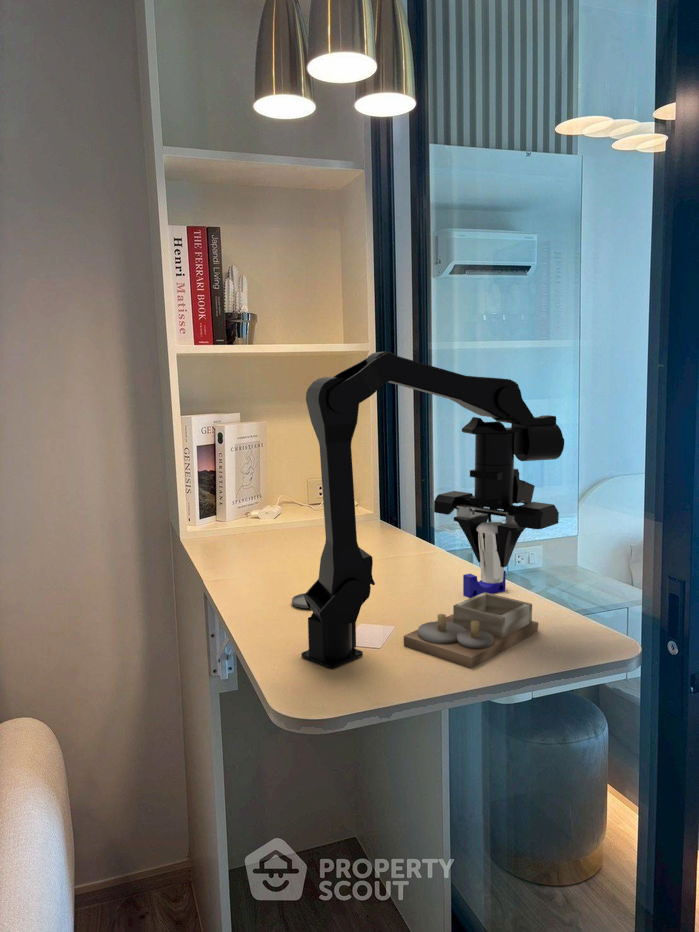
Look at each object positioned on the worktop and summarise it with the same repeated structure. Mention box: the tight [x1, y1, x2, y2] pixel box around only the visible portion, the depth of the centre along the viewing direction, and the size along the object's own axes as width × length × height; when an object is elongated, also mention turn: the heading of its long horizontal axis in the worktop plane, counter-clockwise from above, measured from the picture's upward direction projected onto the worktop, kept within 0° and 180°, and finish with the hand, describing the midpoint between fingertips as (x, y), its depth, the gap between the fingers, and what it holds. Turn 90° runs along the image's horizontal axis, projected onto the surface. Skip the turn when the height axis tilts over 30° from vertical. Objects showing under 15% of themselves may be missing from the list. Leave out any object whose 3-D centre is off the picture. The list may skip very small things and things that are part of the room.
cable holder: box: [462, 569, 507, 599], centre depth 129 cm, size 8×4×4 cm, turn 118°
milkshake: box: [476, 514, 505, 584], centre depth 108 cm, size 4×5×10 cm
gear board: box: [403, 592, 539, 669], centre depth 107 cm, size 18×12×4 cm, turn 136°
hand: (492, 564), depth 108 cm, fingers closed on milkshake, 4 cm apart
